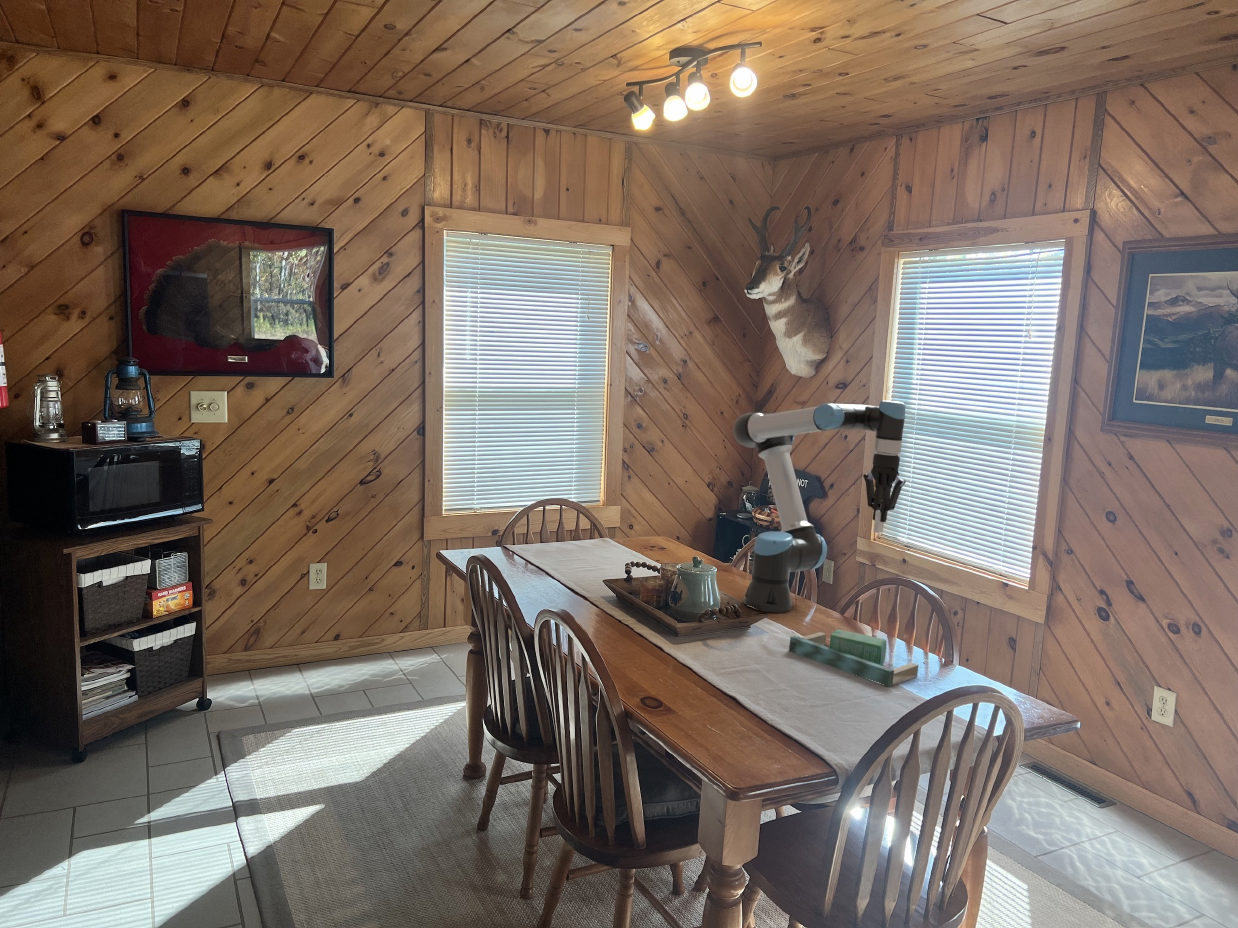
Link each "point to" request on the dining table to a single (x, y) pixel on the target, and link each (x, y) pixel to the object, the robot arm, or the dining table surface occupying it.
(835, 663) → the bay
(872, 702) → the dining table surface
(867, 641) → the box
